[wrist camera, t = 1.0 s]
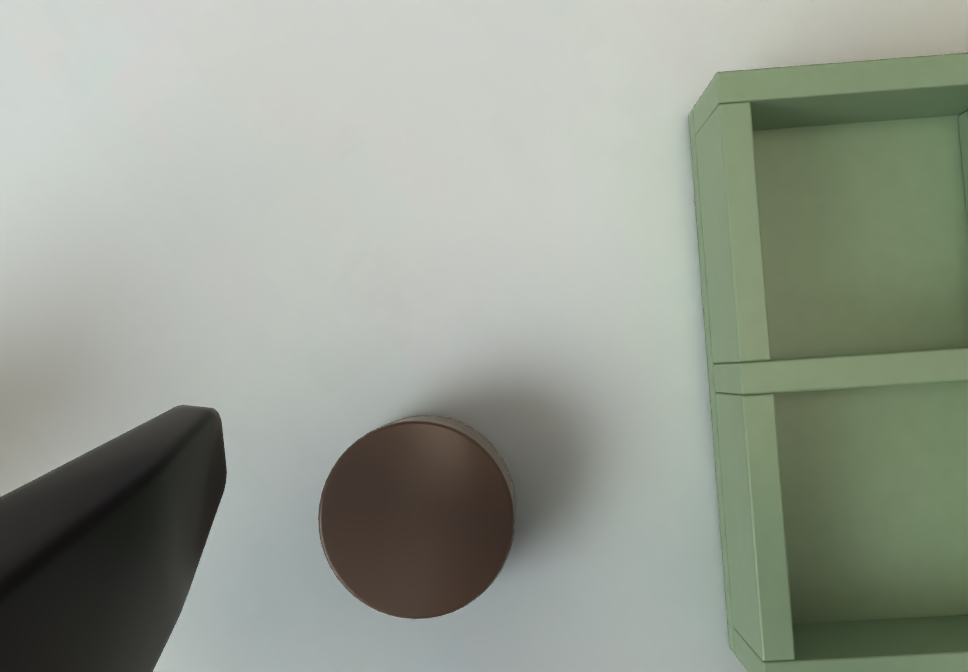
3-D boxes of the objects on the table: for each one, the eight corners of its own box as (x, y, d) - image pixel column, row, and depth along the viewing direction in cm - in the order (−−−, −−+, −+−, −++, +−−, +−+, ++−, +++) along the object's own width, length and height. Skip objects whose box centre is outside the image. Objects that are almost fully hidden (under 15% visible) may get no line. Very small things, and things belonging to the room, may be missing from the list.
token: (473, 620, 21) (468, 651, 19) (312, 550, 22) (286, 571, 19) (542, 456, 22) (545, 467, 19) (380, 387, 22) (363, 389, 19)
